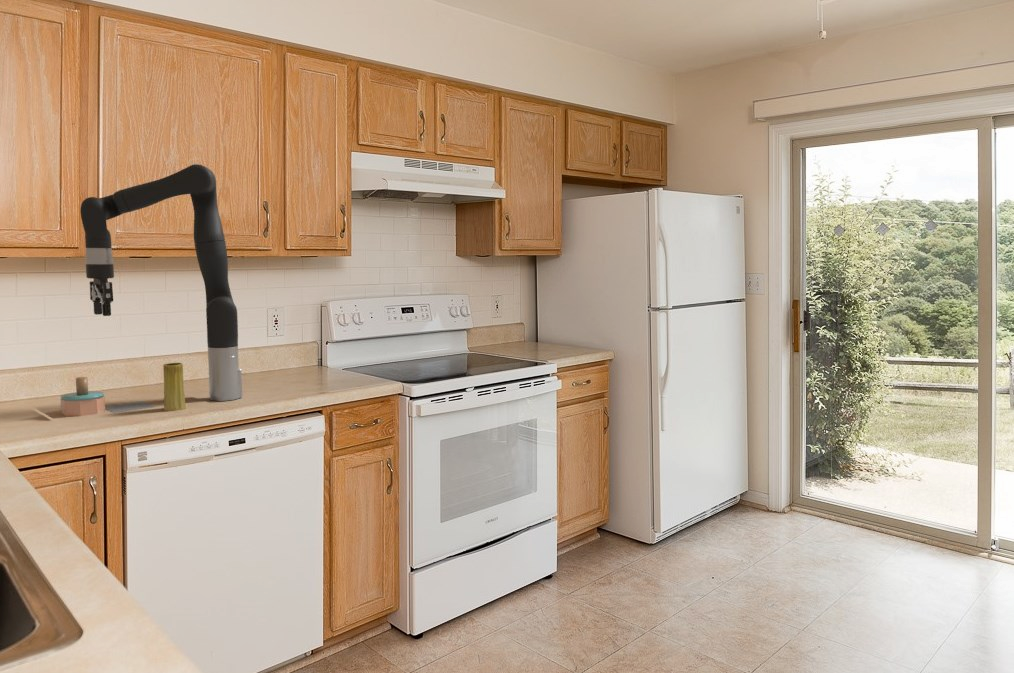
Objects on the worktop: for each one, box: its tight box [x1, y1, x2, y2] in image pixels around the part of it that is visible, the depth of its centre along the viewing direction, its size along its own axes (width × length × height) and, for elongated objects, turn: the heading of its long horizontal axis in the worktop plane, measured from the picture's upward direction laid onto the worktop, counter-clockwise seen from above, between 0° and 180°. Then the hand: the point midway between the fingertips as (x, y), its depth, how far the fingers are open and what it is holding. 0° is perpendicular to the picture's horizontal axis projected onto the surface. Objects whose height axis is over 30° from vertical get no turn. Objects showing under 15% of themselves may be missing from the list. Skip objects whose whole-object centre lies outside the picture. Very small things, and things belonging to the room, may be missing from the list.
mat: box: [105, 401, 156, 413], centre depth 223 cm, size 12×12×1 cm
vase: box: [162, 362, 187, 412], centre depth 220 cm, size 6×6×14 cm
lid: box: [60, 376, 105, 401], centre depth 215 cm, size 11×11×6 cm
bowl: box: [60, 395, 106, 417], centre depth 216 cm, size 10×10×5 cm
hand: (102, 315), depth 228 cm, fingers open, 8 cm apart
